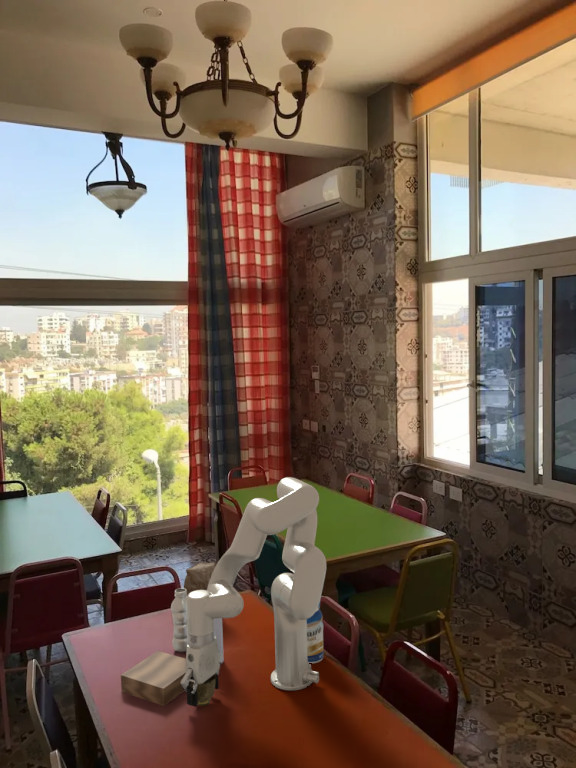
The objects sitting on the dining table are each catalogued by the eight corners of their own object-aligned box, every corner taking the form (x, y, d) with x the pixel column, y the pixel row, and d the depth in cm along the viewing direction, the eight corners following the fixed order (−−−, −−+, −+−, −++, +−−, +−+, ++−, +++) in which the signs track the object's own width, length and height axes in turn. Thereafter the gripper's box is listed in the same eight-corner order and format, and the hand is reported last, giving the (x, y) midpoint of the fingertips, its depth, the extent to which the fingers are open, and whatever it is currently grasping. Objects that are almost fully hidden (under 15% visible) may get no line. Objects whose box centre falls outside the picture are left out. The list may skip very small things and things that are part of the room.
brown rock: (182, 627, 224) (180, 572, 223) (191, 612, 236) (189, 559, 235) (217, 627, 223) (215, 572, 221) (224, 612, 235) (222, 560, 234)
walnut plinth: (199, 678, 189) (199, 662, 189) (164, 706, 175) (163, 688, 175) (158, 666, 197) (157, 650, 197) (121, 691, 183) (120, 675, 183)
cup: (184, 707, 174) (183, 679, 174) (200, 693, 181) (199, 666, 180) (206, 713, 171) (205, 685, 170) (222, 700, 177) (221, 672, 177)
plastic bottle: (191, 654, 204) (189, 594, 203) (170, 654, 204) (168, 594, 203) (194, 644, 211) (192, 586, 209) (174, 645, 211) (172, 586, 209)
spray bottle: (227, 659, 200) (224, 591, 199) (217, 668, 195) (214, 599, 193) (210, 655, 203) (208, 589, 201) (200, 664, 197) (198, 596, 196)
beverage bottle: (324, 651, 204) (323, 591, 202) (323, 665, 195) (322, 602, 194) (298, 651, 204) (297, 590, 203) (296, 664, 196) (294, 601, 195)
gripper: (192, 653, 165) (194, 716, 166) (230, 626, 180) (232, 684, 182) (170, 647, 169) (172, 708, 170) (208, 621, 184) (210, 678, 185)
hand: (203, 696), depth 176 cm, fingers open, 9 cm apart
